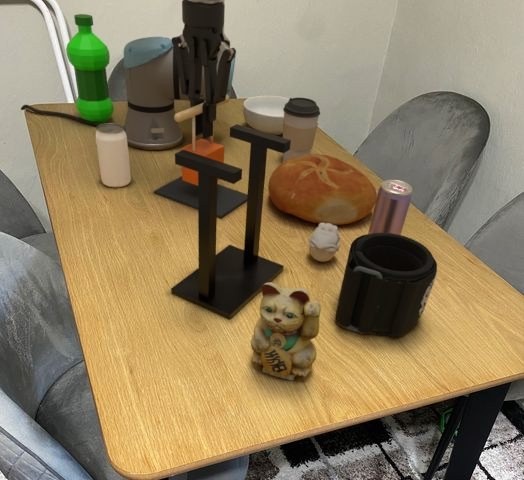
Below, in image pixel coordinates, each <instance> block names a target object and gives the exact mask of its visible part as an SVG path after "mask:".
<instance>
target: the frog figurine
mask: <svg viewBox="0 0 524 480" xmlns="http://www.w3.org/2000/svg"><path fill="white" fill-rule="evenodd" d="M338 229H339V228H338V225H332V224H330V223H326V224H325V223H320V224H318V226H317V227H316V228H315V229H314V230H313V231H312V233H311V235H310V236H309V238H308V248H309V253H310V255H311V257H312V258H313V259H314V260H315V261H318V262H323V263H325V262H328V261H330V260H331V259H333V258H334V256H335V254H336V253H337V252H338V251H339V250H340V248H341V245H342V244H341V234H340V233H339V231H338Z"/></svg>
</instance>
